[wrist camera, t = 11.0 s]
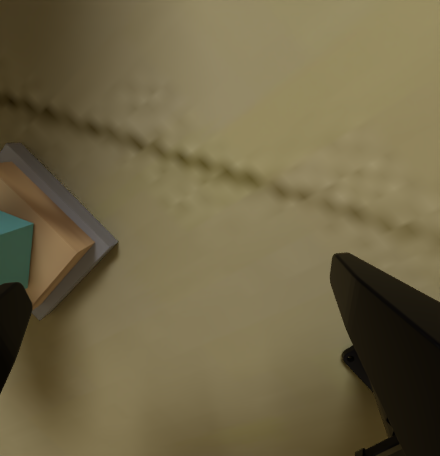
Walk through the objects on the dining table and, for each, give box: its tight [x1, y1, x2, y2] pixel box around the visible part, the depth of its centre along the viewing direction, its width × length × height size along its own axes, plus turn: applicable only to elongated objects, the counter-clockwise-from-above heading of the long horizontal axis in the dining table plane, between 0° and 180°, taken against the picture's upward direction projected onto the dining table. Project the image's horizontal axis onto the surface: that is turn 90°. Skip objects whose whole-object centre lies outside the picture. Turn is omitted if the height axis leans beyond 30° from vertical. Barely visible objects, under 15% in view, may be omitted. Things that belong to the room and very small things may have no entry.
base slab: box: [0, 143, 118, 320], centre depth 25 cm, size 10×10×2 cm
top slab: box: [0, 162, 95, 310], centre depth 23 cm, size 8×8×2 cm
